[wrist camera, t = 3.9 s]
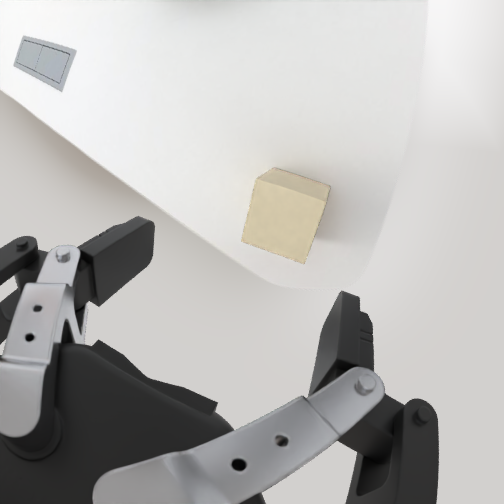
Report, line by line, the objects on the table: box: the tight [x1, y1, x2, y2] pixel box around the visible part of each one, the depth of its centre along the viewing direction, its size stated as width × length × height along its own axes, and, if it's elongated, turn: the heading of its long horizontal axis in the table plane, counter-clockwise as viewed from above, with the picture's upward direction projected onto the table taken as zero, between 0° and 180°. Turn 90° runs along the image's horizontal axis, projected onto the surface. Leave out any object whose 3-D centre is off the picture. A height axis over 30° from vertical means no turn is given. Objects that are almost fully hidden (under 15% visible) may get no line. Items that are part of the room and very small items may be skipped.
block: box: [241, 168, 330, 264], centre depth 20 cm, size 4×4×4 cm
